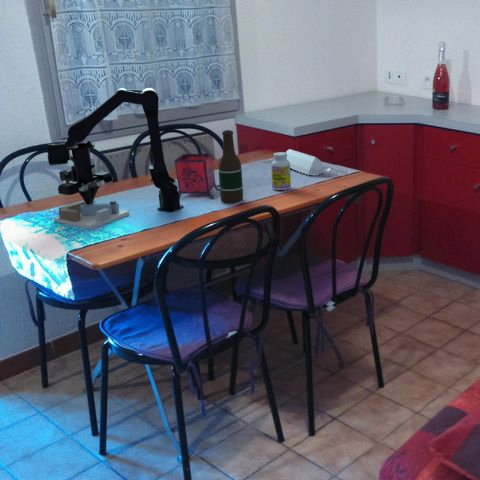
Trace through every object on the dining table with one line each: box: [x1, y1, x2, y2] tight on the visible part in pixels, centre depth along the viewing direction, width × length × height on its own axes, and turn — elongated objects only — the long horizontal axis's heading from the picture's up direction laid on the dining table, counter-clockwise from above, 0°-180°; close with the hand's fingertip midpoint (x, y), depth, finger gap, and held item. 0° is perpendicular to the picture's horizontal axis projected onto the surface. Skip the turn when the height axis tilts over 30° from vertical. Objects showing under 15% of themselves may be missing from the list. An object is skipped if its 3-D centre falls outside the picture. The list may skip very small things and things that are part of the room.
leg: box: [80, 200, 120, 216], centre depth 224 cm, size 12×3×4 cm, turn 96°
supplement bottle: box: [270, 151, 292, 191], centre depth 244 cm, size 7×7×13 cm
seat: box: [53, 200, 130, 230], centre depth 224 cm, size 18×17×4 cm
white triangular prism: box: [285, 148, 325, 176], centre depth 270 cm, size 7×7×24 cm
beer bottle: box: [218, 129, 244, 204], centre depth 231 cm, size 8×8×24 cm
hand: (89, 208), depth 227 cm, fingers closed
